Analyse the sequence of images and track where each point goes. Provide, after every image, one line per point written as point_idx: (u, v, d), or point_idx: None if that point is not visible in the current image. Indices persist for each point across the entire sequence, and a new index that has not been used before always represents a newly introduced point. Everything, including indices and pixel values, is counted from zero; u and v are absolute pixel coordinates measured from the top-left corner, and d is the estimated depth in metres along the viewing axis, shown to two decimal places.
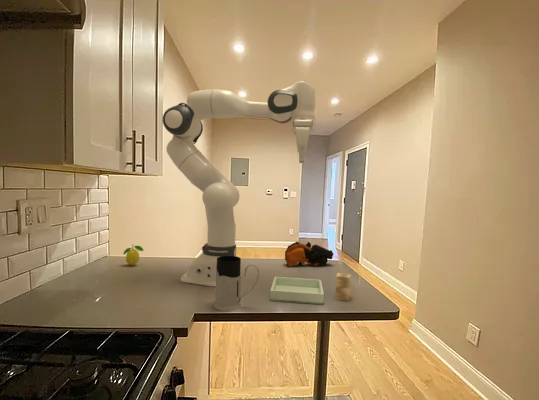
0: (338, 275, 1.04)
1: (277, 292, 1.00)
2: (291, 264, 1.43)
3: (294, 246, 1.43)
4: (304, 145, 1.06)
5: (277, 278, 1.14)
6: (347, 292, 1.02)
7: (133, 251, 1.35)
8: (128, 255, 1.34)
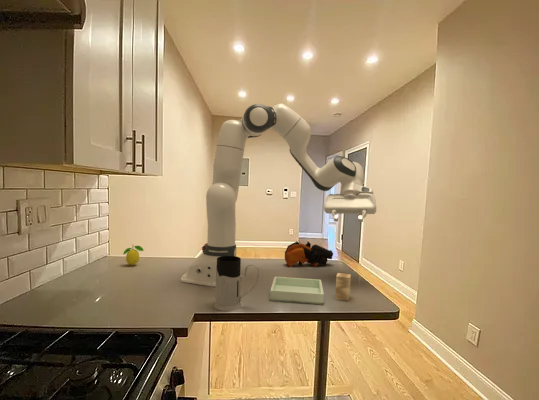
0: (338, 275, 1.04)
1: (277, 292, 1.00)
2: (291, 264, 1.43)
3: (294, 246, 1.44)
4: (375, 212, 1.15)
5: (277, 278, 1.14)
6: (347, 292, 1.02)
7: (133, 251, 1.35)
8: (128, 255, 1.34)
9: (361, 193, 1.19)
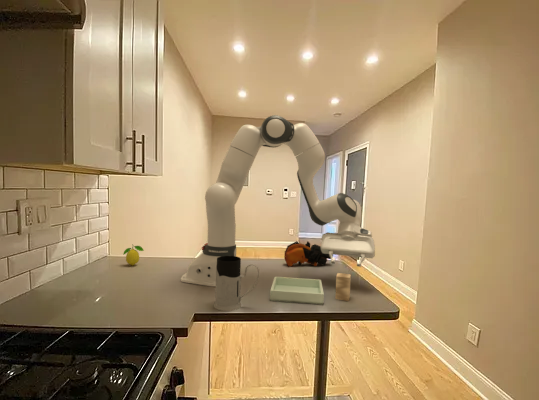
0: (338, 275, 1.04)
1: (277, 292, 1.00)
2: (290, 264, 1.43)
3: (293, 246, 1.44)
4: (373, 256, 1.12)
5: (277, 278, 1.14)
6: (347, 292, 1.02)
7: (133, 251, 1.35)
8: (128, 255, 1.34)
9: (360, 235, 1.15)
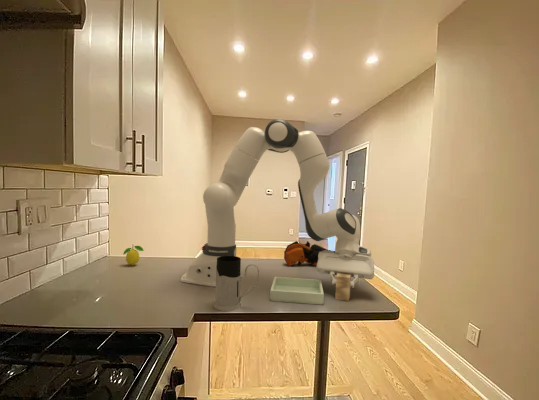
0: (338, 275, 1.04)
1: (277, 292, 1.00)
2: (290, 263, 1.44)
3: (293, 246, 1.44)
4: (372, 278, 1.05)
5: (277, 278, 1.14)
6: (347, 292, 1.02)
7: (133, 251, 1.35)
8: (128, 255, 1.34)
9: (358, 254, 1.08)
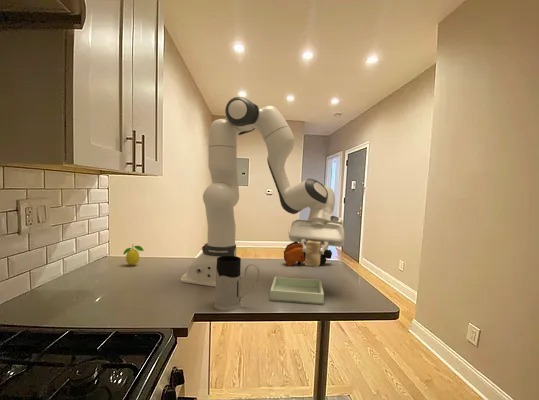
0: (308, 241, 1.05)
1: (277, 292, 1.00)
2: (290, 263, 1.44)
3: (293, 245, 1.45)
4: (342, 245, 1.06)
5: (277, 278, 1.14)
6: (316, 258, 1.03)
7: (133, 251, 1.35)
8: (128, 255, 1.34)
9: (330, 222, 1.09)
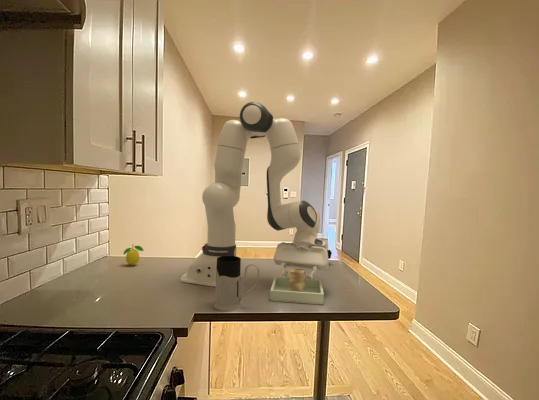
0: (292, 270, 1.06)
1: (277, 292, 1.00)
2: None
3: None
4: (326, 269, 1.07)
5: (277, 278, 1.14)
6: (300, 287, 1.04)
7: (133, 251, 1.35)
8: (128, 255, 1.34)
9: (314, 246, 1.10)
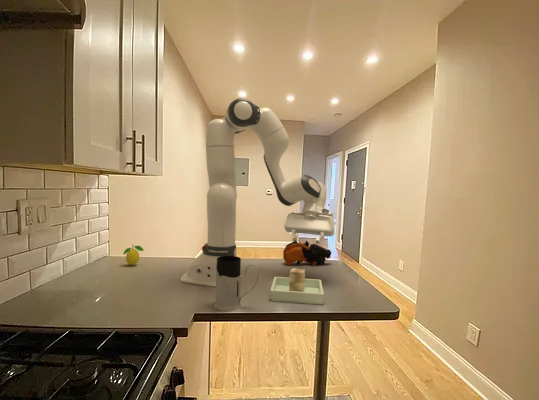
0: (292, 270, 1.06)
1: (277, 292, 1.00)
2: (289, 263, 1.45)
3: (292, 245, 1.46)
4: (332, 235, 1.19)
5: (277, 278, 1.14)
6: (300, 287, 1.04)
7: (133, 251, 1.35)
8: (128, 255, 1.34)
9: (321, 215, 1.22)
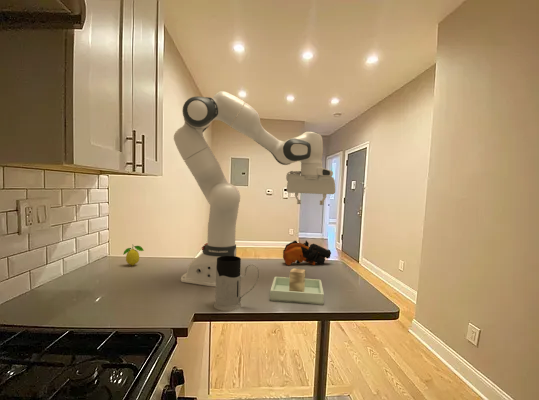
0: (292, 270, 1.06)
1: (277, 292, 1.00)
2: (289, 263, 1.45)
3: (292, 245, 1.46)
4: None
5: (277, 278, 1.14)
6: (300, 287, 1.04)
7: (133, 251, 1.35)
8: (128, 255, 1.34)
9: (322, 176, 1.22)
